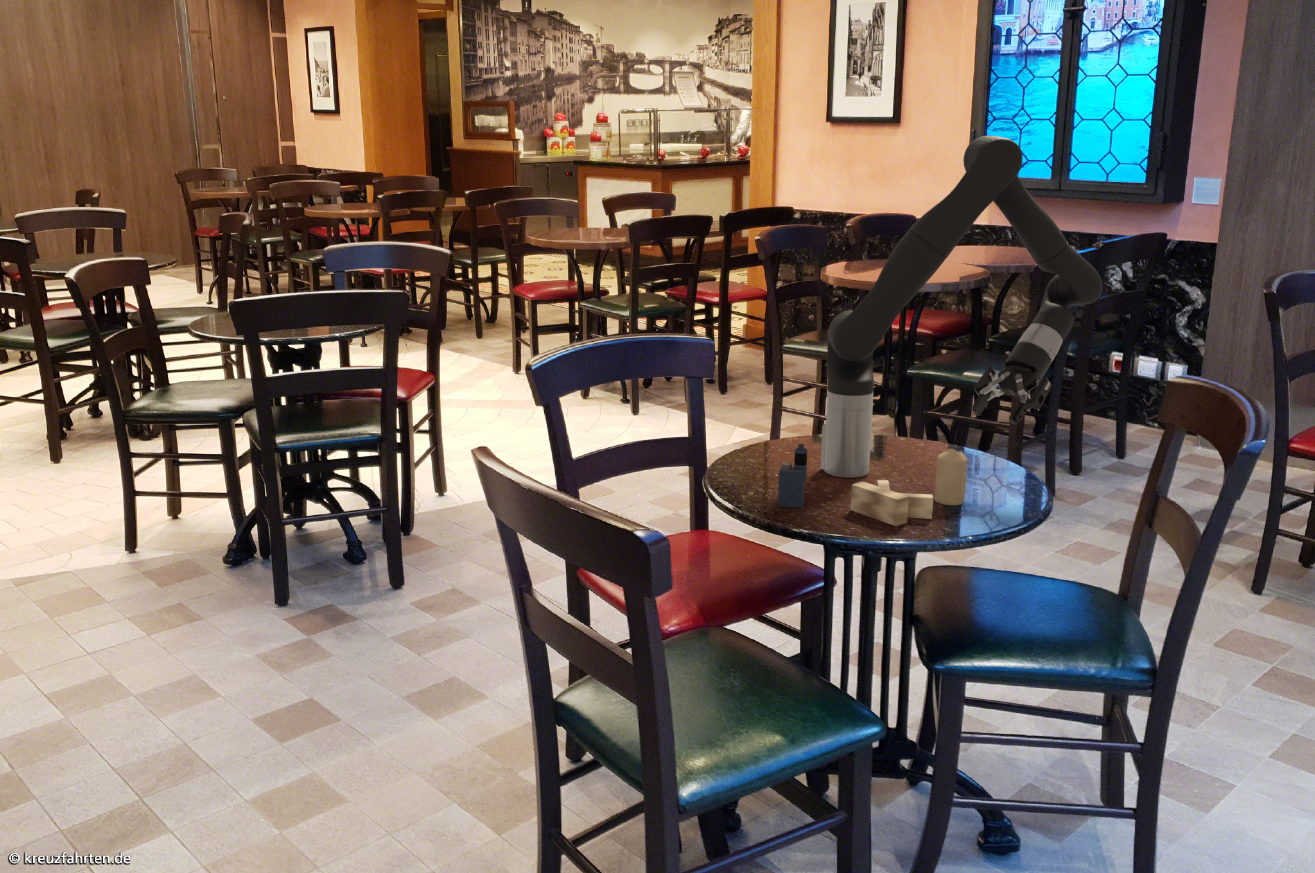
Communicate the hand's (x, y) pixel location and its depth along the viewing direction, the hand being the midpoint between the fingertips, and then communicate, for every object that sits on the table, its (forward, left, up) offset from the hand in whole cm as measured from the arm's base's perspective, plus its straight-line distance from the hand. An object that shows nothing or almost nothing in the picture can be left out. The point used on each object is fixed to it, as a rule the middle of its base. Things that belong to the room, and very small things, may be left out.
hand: (993, 417), depth 211 cm
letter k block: (-2, -26, -15) cm, 30 cm away
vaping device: (-16, -37, -15) cm, 43 cm away
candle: (0, -11, -15) cm, 19 cm away
